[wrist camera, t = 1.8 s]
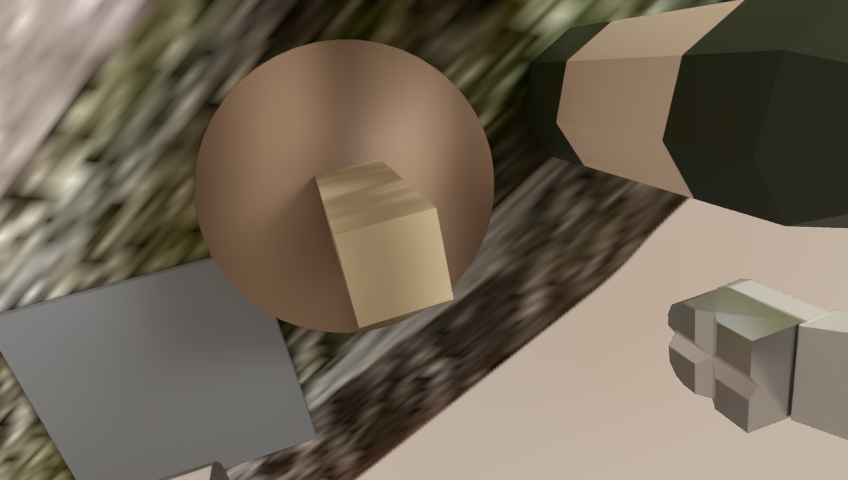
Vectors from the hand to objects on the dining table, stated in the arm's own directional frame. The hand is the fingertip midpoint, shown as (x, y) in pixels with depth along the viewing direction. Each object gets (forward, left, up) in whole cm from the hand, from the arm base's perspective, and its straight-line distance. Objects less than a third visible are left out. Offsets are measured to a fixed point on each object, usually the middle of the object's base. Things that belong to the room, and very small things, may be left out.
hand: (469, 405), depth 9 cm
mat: (+13, +10, -23) cm, 28 cm away
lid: (0, 0, -17) cm, 17 cm away
